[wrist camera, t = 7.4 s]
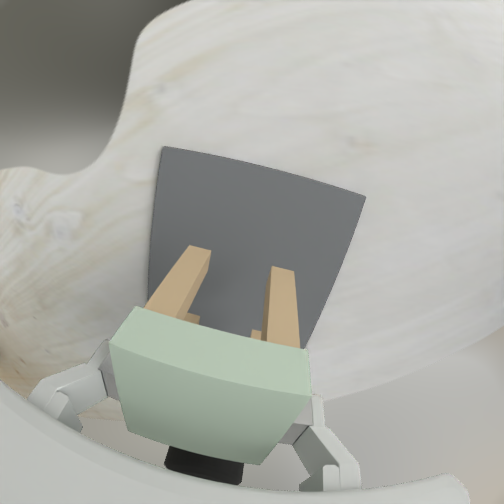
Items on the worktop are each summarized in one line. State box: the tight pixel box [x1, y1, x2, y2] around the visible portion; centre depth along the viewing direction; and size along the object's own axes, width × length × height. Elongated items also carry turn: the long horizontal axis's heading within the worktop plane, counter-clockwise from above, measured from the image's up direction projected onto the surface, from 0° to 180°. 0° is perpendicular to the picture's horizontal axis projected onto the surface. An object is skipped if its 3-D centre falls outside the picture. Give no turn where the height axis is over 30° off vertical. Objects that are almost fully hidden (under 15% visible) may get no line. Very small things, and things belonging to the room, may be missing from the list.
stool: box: [109, 245, 312, 465], centre depth 12 cm, size 6×6×8 cm
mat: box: [148, 146, 366, 349], centre depth 20 cm, size 14×14×1 cm
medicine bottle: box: [164, 446, 244, 485], centre depth 20 cm, size 7×7×12 cm
